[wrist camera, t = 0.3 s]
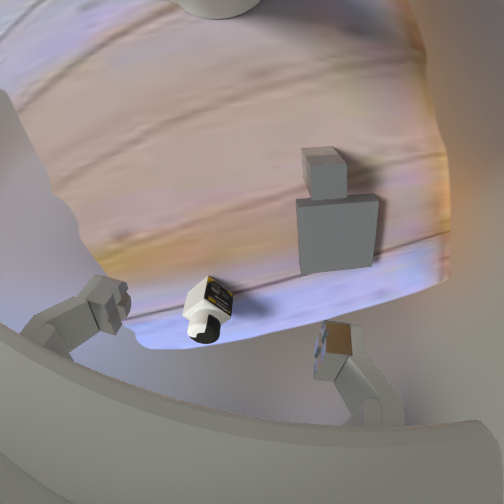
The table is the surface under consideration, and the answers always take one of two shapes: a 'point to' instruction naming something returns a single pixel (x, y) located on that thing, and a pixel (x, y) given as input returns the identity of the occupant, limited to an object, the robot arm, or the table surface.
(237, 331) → the table surface
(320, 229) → the charcoal stand
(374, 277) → the table surface
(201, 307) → the medicine bottle
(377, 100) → the table surface
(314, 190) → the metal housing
